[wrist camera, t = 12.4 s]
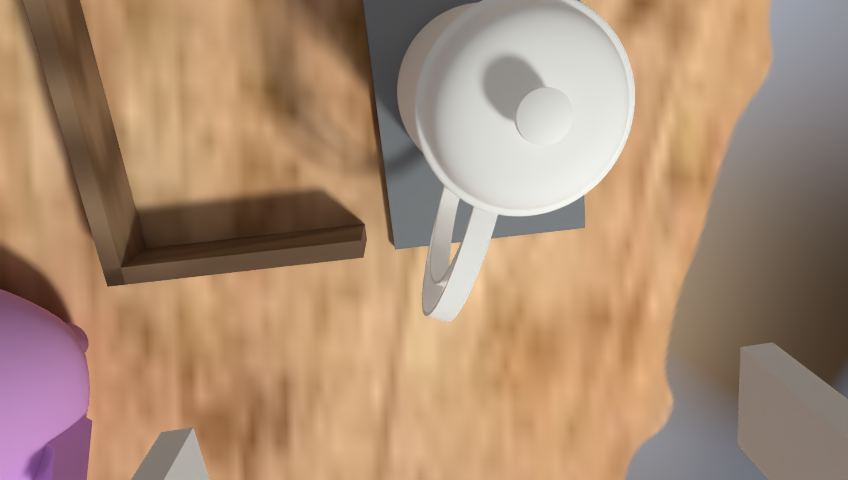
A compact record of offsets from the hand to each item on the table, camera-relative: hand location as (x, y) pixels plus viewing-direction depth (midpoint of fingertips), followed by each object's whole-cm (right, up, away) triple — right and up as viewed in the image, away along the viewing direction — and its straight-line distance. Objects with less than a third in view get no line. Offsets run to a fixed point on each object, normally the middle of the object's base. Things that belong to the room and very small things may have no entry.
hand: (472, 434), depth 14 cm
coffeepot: (+3, +15, +25) cm, 29 cm away
